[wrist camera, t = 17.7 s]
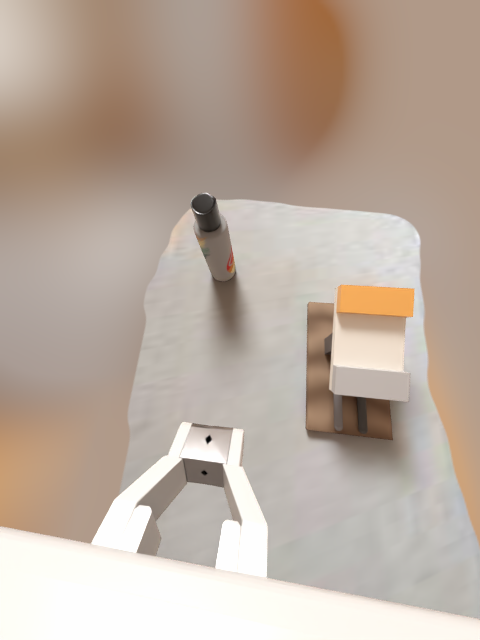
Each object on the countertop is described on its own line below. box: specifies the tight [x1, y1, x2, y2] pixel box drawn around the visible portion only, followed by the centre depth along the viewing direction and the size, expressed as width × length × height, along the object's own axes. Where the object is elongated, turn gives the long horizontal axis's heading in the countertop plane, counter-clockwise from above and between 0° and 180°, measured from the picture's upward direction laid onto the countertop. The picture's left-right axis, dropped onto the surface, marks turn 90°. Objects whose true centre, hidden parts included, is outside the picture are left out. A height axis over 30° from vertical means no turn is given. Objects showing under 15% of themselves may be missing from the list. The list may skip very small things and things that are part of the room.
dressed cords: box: [333, 393, 368, 434], centre depth 39 cm, size 13×5×1 cm, turn 174°
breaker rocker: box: [329, 285, 414, 402], centre depth 33 cm, size 16×10×3 cm, turn 174°
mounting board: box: [306, 302, 393, 440], centre depth 42 cm, size 24×14×2 cm, turn 174°
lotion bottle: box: [191, 193, 235, 281], centre depth 42 cm, size 6×6×20 cm
